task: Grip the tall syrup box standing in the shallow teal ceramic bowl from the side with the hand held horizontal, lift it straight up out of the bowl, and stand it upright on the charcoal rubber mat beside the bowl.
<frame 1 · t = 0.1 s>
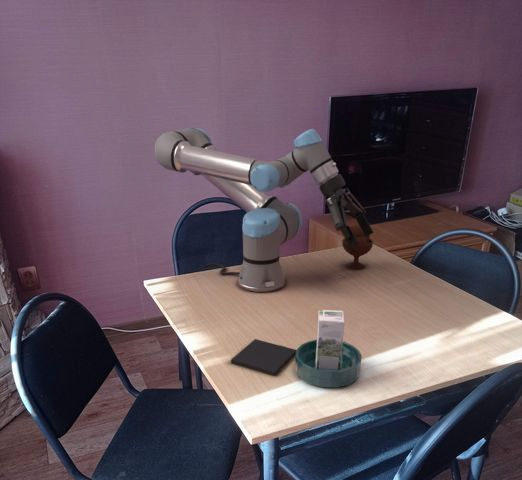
hand: (362, 240, 158), 15 cm above the table, tool tilted 35°, fingers open, 13 cm apart
ice cream bowl: (355, 267, 181), on the table
bowl: (327, 370, 120), on the table
syrup box: (327, 370, 120), resting on bowl
mat: (264, 358, 125), on the table
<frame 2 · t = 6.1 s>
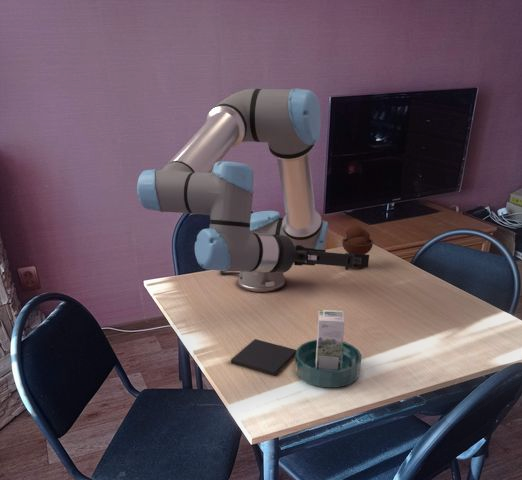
hand: (344, 258, 113), 26 cm above the table, tool horizontal, fingers open, 13 cm apart
nothing on the table moved.
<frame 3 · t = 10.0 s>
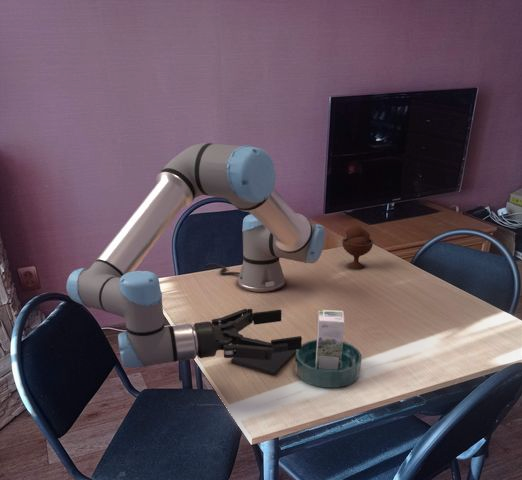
hand: (290, 328, 111), 13 cm above the table, tool horizontal, fingers open, 13 cm apart
nothing on the table moved.
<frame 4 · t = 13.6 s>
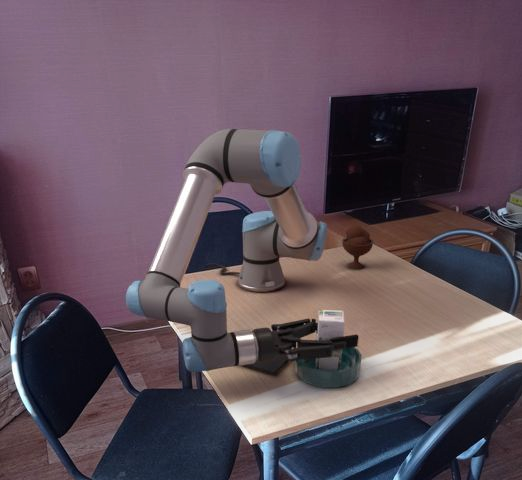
hand: (349, 332, 116), 10 cm above the table, tool horizontal, fingers closed on syrup box, 7 cm apart
syrup box: (327, 370, 120), resting on bowl, touching gripper
everything else where it was.
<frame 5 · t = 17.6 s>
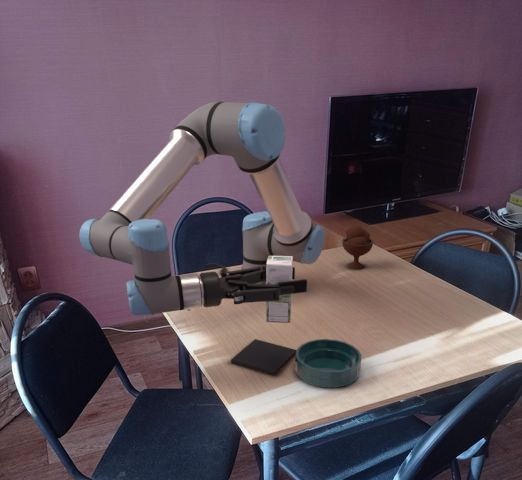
hand: (299, 279, 115), 21 cm above the table, tool horizontal, fingers closed on syrup box, 7 cm apart
syrup box: (278, 318, 118), point 12 cm above the table, touching gripper
everything else where it was.
when the fingers open (10 cm above the table, at t = 21.4 s): syrup box stays where it is, resting on mat.
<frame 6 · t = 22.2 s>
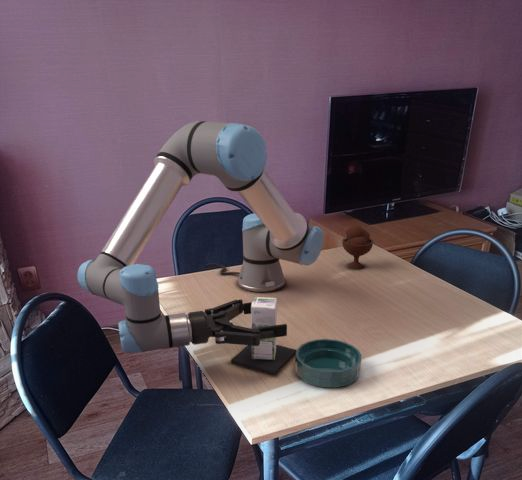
hand: (277, 317, 121), 11 cm above the table, tool horizontal, fingers open, 13 cm apart
syrup box: (264, 355, 125), point 1 cm above the table, touching mat
everything else where it was.
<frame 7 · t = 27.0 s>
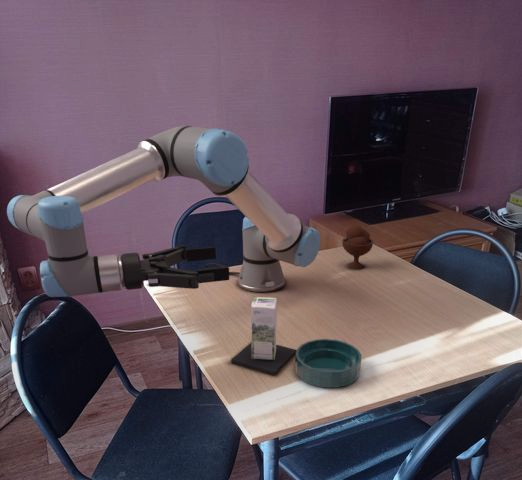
hand: (221, 262, 110), 26 cm above the table, tool horizontal, fingers open, 13 cm apart
nothing on the table moved.
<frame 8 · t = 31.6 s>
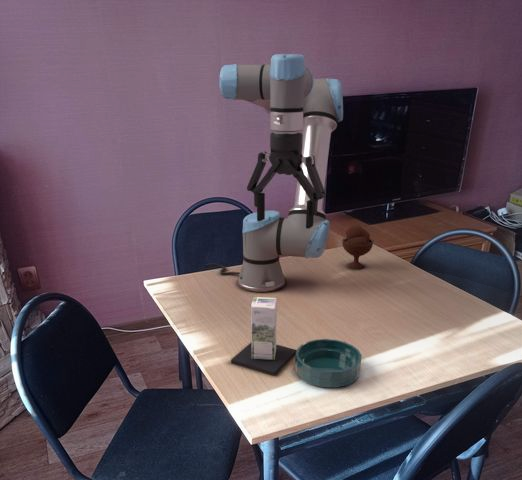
hand: (284, 223, 126), 29 cm above the table, tool pointing down, fingers open, 13 cm apart
nothing on the table moved.
at the end: syrup box inside the target area on the mat (0.1 cm from its centre), point 0.8 cm above the mat's base; syrup box tilted 0°; syrup box touching mat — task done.
